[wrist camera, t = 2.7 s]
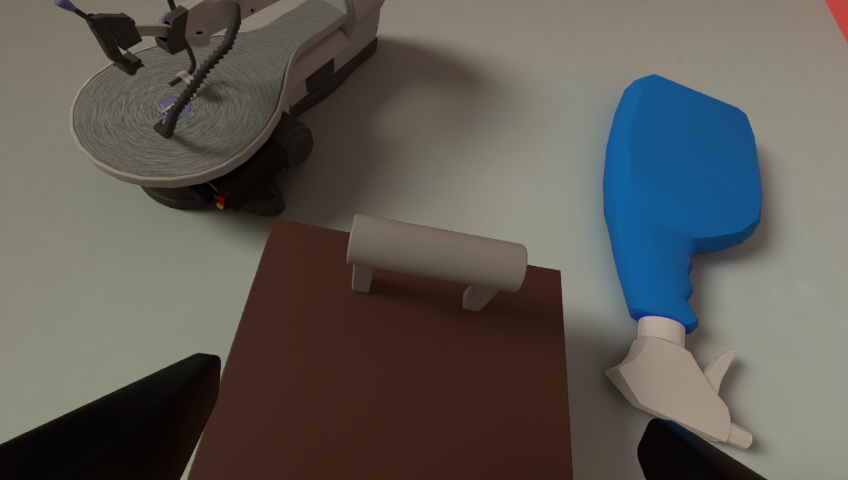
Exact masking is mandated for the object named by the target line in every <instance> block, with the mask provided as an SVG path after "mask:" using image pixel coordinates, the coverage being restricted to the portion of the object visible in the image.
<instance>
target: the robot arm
mask: <svg viewBox="0 0 848 480" xmlns="http://www.w3.org/2000/svg"><path fill="white" fill-rule="evenodd" d="M220 371H221V360H220V358H219V356H217V355H210V354H203V353H196V354H194V355H192V356H189V357H187V358H185V359H183V360H181V361H179V362H177V363H174V364H172V365H170V366H168V367H166V368H164V369H161V370H159V371H157V372H155V373H153V374H151V375H149V376H146V377H144V378H142V379H140V380H138V381H136V382H134V383H131V384H129V385H127V386H125V387H123V388H121V389H118V390H116V391H114V392H112V393H110V394H108V395H106V396H103V397H101V398H99V399H97V400H95V401H93V402H91V403H88V404H86V405H84V406H82V407H80V408H78V409H76V410H73V411H71V412H69V413H67V414H65V415H63V416H60V417H58V418H56V419H54V420H52V421H50V422H48V423H45V424H43V425H41V426H39V427H37V428H35V429H33V430H30V431H28V432H26V433H24V434H22V435H20V436H17V437H15V438H13V439H11V440H9V441H7V442H5V443H2V444H0V480H180V478H181V476H182V474H183V472H184V470H185V468H186V466H187V464H188V462H189V460H190V458H191V455H192V453H193V451H194V449H195V447H196V445H197V443H198V441H199V439H200V436H201V434H202V432H203V430H204V428H205V426H206V424H207V422H208V419H209V417H210V415H211V413H212V411H213V409H214V407H215V404H216V402H217V399H218V395H219V386H220ZM637 456H638V460H639V463H640V466H641V468H642V471H643V473H644V476H645V478H646V480H767V479H765V478H764V477H762V476H761V475H759V474H757V473H756V472H754V471H753V470H751V469H749V468H748V467H746V466H745V465H743V464H741V463H740V462H738V461H737V460H735V459H734V458H732V457H730V456H729V455H727V454H726V453H724V452H722V451H721V450H719V449H718V448H716V447H714V446H713V445H711V444H710V443H708V442H707V441H705V440H703V439H702V438H700V437H699V436H697V435H695V434H694V433H692V432H691V431H689V430H688V429H686V428H684V427H683V426H681V425H680V424H678V423H676V422H675V421H672V420H668V419H661V418H654V419H652V420H651V421H649V423H648V425H647V427H646V430H645V432H644V434H643V436H642V439H641V441H640V443H639V445H638V449H637Z"/></svg>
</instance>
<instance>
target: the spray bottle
mask: <svg viewBox="0 0 848 480" xmlns="http://www.w3.org/2000/svg"><path fill="white" fill-rule="evenodd" d="M603 194H604V216H605V219H606V223H607V227H608V231H609V236H610V241H611V246H612V250H613V255H614V259H615V264H616V268H617V272H618V275H619V279H620V282H621V286H622V289H623V293H624V296H625V299H626V303H627V306H628V310H629V313H630V317H632V318H633V319H635V320H636V321H638V334H637V340H634V341H633V343H632V345H631V348H630V351H629V353H628V355H627V357H626V358H625V359H624V360H623V361H622V362H621V363H620V364H619V365H617V366H615V367H613V368H610V369H608V370H606V371H605V373H604V374H605V375H606V376H607V377H608V378H609V379H610V380H611V382H612V383H613V384H614V385H615V386H616V387H617V388H618V389H619V391H620V392H621V393H622V394H623V395H624V396H625V397H626V399H627V400H628V401H629V402H630V403H631V404H632V405H633V406H634V407H637V408H639V409H641V410H643V411H646V412H648V413H650V414H652V415H655V416H657V417H659V418H661V419H668V420H672V421H675V422H676V423H678V424H680V425H681V426H683V427H684V428H686V429H688V430H689V431H691V432H693V433H695V434H698V435H700V436H702V437H704V438H707V439H709V440H711V441H713V442H726V443H728V444H731V445H733V446H735V447H738V448H740V449H747V448H748V447H749V446H750V445H751V444H752V435H751V434H750V432H749V431H748V430H746V429H745V428H743V427H741V426H739V425H737V424H735V423H734V422H732V421H730V414H729V410H728V407H727V406H726V405H725V404H724V402H723V401H722V400H721V398H720V397H719V396H718V393H719V387H720V382H721V380H722V378H723V377H724V375H725V373H726V371H727V369H728V367H729V365H730V363H731V361H732V359H733V357H734V356H735V354H736V353H735V352H734V350H733V349H728V350H726V351H724V352H723V353H722V354H720V355H719V356H718V357H716V358H715V359H714V360H713V361H712V362H711V363H710V364H709V365H708V366H707V367H706V368H705V370H704V371H703V372H702V371H701V369H700V368H699V366H698V365H697V363H696V361H695V360H694V358H693V356H692V355H691V353H690V352H689V351H687V350H685V349H684V348H685V334H691V333H692V332H693V331H694V330H695V328H696V327H697V326H698V320H697V317H696V316H695V314H694V312H693V311H692V309H691V307H690V305H689V304H688V301H689V299H690V297H691V295H692V293H693V288H692V284H691V281H690V278H689V275H688V274H689V273H690V271H691V270H692V260H691V255H692V254H695V253H705V252H715V251H719V250H722V249H725V248H728V247H732V246H735V245H738V244H741V243H742V242H743V241H744V240H746V239H747V238H748V237H749V236H751V235H752V234H753V233H754V231H755V229H756V227H757V226H758V224H759V222H760V214H761V200H762V194H761V183H760V174H759V167H758V159H757V152H756V144H755V137H754V134H753V131H752V129H751V126H750V123H749V121H748V118H747V115H746V114H745V113H743V112H742V111H741V110H740V109H738V108H737V107H734V106H732V105H729V104H727V103H724V102H722V101H719V100H717V99H715V98H712V97H710V96H707V95H705V94H702V93H700V92H697V91H695V90H692V89H690V88H688V87H685V86H683V85H680V84H678V83H675V82H673V81H670V80H668V79H666V78H663V77H661V76H658V75H656V74H654V75H649V76H646V77H643V78H640V79H638V80H635V81H634V82H633V83H632V84H631V85H630V86H629V87H628V88H627V89H626V90H625V91H624V93H623V95H622V97H621V100H620V102H619V105H618V107H617V110H616V112H615V115H614V119H613V123H612V128H611V132H610V136H609V140H608V144H607V148H606V159H605V169H604V179H603Z"/></svg>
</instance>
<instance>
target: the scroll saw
mask: <svg viewBox="0 0 848 480" xmlns="http://www.w3.org/2000/svg"><path fill="white" fill-rule="evenodd" d="M167 1H168V4H169V7H170V9H171V12H167V13H165V14H164V15H163V17H162V18H161V19H160V20H159V22H161V23H135V21H134V20H133V19H132V18H130V17H129V16H127V15H126V14H124V13H120V14H103V13H99V14H96V15H94V14H88V15H87V14H85V13H84V12H82V11H81V10H79V9H77V8H76V7H75V6H74V5H73V4H72V3H71V2H70V1H69V0H54V3H55V4H56V5H57V6H59V7H61V8H63V9H66V10H69V11H72V12H74V13H76V14H77V15H79V16H81V17H82V18H84V19H86V22H87V23H88V25H89V27H90V29H91V31H92V32H93V34H94V35H95V37H96V38H97V40H98V42H99V44H100V46H101V47H102V49H103V51H104V52H105V54H106V56H107V57H108V58H109V59H110V60H112V61H113V62H111V63H110V64H108V65H107V66H105V67H104V68H102V69H101V70H100V71H98V72H97V73H95V74H94V75H92V76H91V77H90V78H89V79H88V80H87V81H86V83H85V84H84V85H83V86H82V87H81V88H80V90H79V91H78V92H77V94H76V96H75V99H74V101H73V104H72V106H71V109H70V131H71V133H72V135H73V138H74V140H75V142H76V144H77V146H78V148H79V149H80V150H81V151H82V152H83V154H84V155H85V156H86V157H87V158H88V159H89V160H90V161H91V162H92V163H93V164H94V165H95V166H96V167H97V168H98V169H99V170H101V171H103V172H105V173H107V174H109V175H111V176H113V177H115V178H117V179H119V180H121V181H124V182H128V183H132V184H136V185H140V186H141V187H142V189H143V190H144V191H145V192H146V193H147V194H148V195H149V196H150V197H151V198H153V199H154V200H156V201H157V202H159V203H161V204H163V205H166V206H168V207H171V208H177V209H189V208H197V207H202V206H209V205H216V206H217V207H219V208H220V209H224V210H226V209H228V208H231V209H232V210H233V211H235V212H237V211H238V210H242V211H246V212H250V213H255V214H259V215H265V216H277V215H279V214H280V213H281V212H282V211H283V210H284V209H285V202H284V198H283V194H282V191H281V189H280V188H279V186H278V185H277V184H276V182H275V181H274V180H273V179H274V178H275V177H276V176H277V175H278V174H279V173H280V172H282V171H283V170H282V168H291V167H297V166H299V165H301V164H302V163H303V162H304V161H305V160H306V159H307V157H308V156H309V154H310V152H311V150H312V147H313V138H312V135H311V131H310V129H309V128H308V126H306V125H305V124H303V123H302V122H300V121H299V120H297V119H296V117H297V116H299V115H300V114H301V113H302V112H304V111H305V110H307V109H309V108H310V107H312V106H314V105H315V104H317V103H318V102H320V101H321V100H323V99H324V98H325V97H327V96H328V95H329V94H331V93H332V92H333V91H334V90H335V89H336V88H337V87H339V86H340V85H341V84H342V83H343V82H344V81H345V80H346V78H347V77H348V76H349V75H350V74H351V73H352V72H353V71H354V70H355V69H356V68H357V67H358V66H359V65H361V64H362V63H363V62H364V61H365V60H367V59H368V58H369V57H370V56H371V55H372V54H373V53H374V52H375V51H376V49H377V37H376V33H377V29H378V24H379V16H380V8H381V7H382V5H383V3H384V1H385V0H306V1H304V2H303V3H301V4H299V5H298V6H296V7H295V8H293V9H291V10H290V11H288V12H287V13H285V14H284V15H282V16H280V17H279V18H277V19H276V20H274V21H272V22H271V23H269V24H268V25H266V26H263V27H261V28H257V29H253V30H248V31H241V32H238V30H239V28H240V25H241V20H243V19H245V18H247V17H249V16H251V15H253V14H254V13H256V12H258V11H260V10H262V9H264V8H266V7H267V6H269V5H271V4H273V3H275V2H277V1H279V0H187V1H186V2H184V3H183V4H181V5H180V6H178V7H177V8H176V6H175V3H174V1H173V0H167ZM225 28H227V31H226V32H225V34H217V35H213V34H215V33H217V32H219V31H221V30H223V29H225ZM141 36H156V37H155V40H156V43H157V45H154V46H151V47H147V48H144V49H141V50H138V51H135V52H133V53H131V52H129V51H128V50H127V49H128V48H130V47H132V46H134V45H136V44H138V43H139V42H141V41H142V39H141ZM118 46H119V47H120V48H122V49H123V50H126V51H127V53H126V54H124V55H122V54H121V52H120V50H119V48H118Z"/></svg>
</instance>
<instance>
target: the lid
mask: <svg viewBox="0 0 848 480" xmlns="http://www.w3.org/2000/svg"><path fill="white" fill-rule="evenodd" d="M187 480H573V471H572V455H571V438H570V421H569V405H568V388H567V371H566V355H565V338H564V322H563V305H562V288H561V272H560V271H559V270H554V269H548V268H542V267H537V266H531V265H527V251H526V248H525V246H524V245H522V244H518V243H513V242H507V241H502V240H497V239H491V238H486V237H480V236H475V235H470V234H464V233H459V232H454V231H448V230H443V229H438V228H432V227H427V226H421V225H416V224H411V223H405V222H400V221H395V220H389V219H384V218H378V217H373V216H368V215H362V214H356V215H355V217H354V220H353V224H352V229H351V233H349V232H343V231H338V230H332V229H327V228H321V227H316V226H310V225H305V224H299V223H294V222H288V221H282V220H277V219H274V221H273V224H272V227H271V230H270V233H269V236H268V239H267V242H266V245H265V248H264V251H263V254H262V257H261V260H260V263H259V266H258V269H257V272H256V275H255V278H254V281H253V284H252V287H251V290H250V293H249V296H248V299H247V302H246V305H245V308H244V311H243V314H242V317H241V320H240V323H239V326H238V329H237V332H236V335H235V338H234V341H233V344H232V346H231V349H230V352H229V355H228V358H227V361H226V364H225V367H224V370H223V373H222V376H221V379H220V386H219V395H218V399H217V402H216V404H215V407H214V409H213V411H212V413H211V415H210V417H209V419H208V422H207V424H206V426H205V428H204V430H203V433H202V436H201V439H200V442H199V445H198V448H197V451H196V454H195V457H194V460H193V463H192V466H191V469H190V472H189V475H188V478H187Z"/></svg>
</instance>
